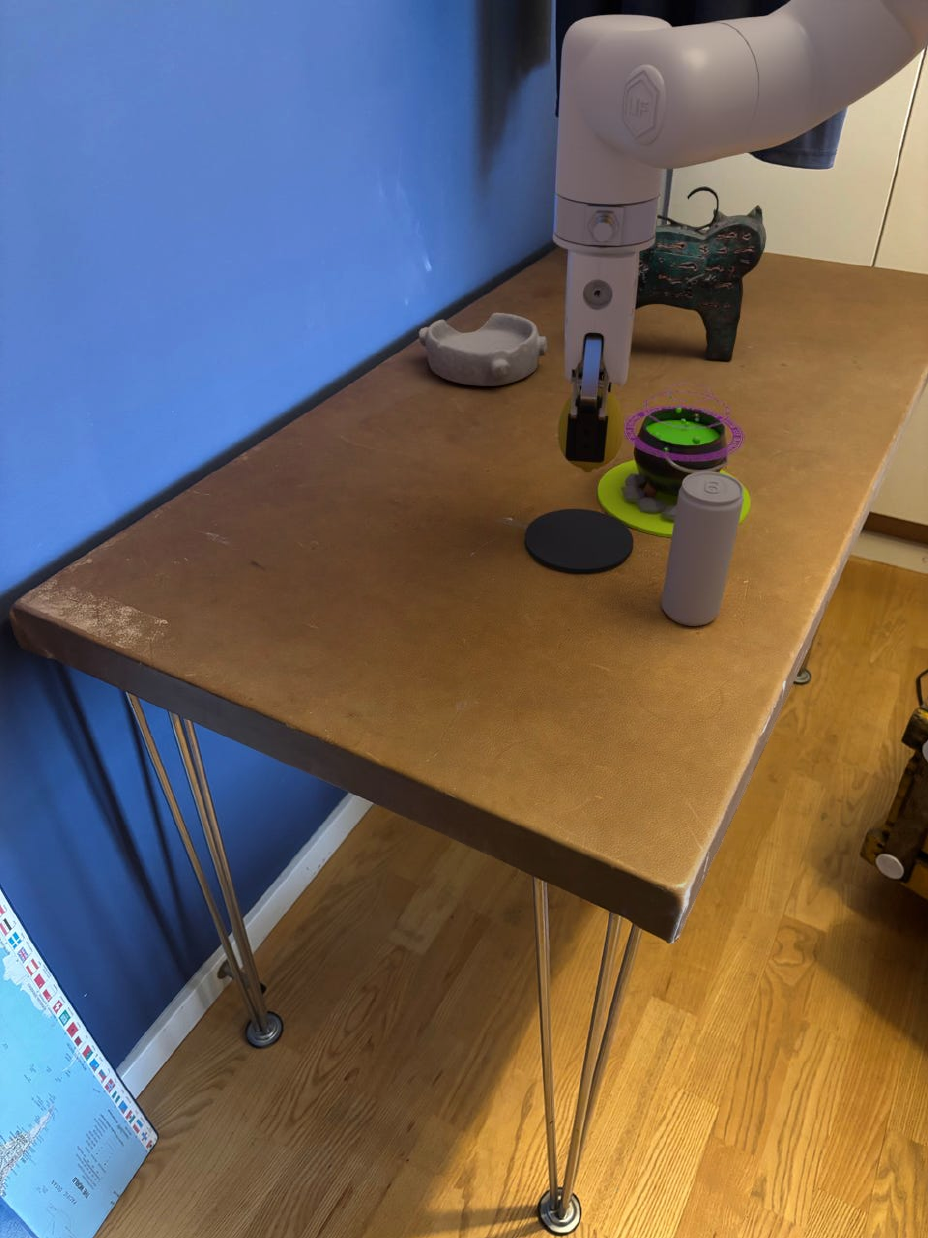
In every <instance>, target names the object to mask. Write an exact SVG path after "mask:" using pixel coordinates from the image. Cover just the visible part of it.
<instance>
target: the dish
mask: <svg viewBox="0 0 928 1238" xmlns="http://www.w3.org/2000/svg"><path fill="white" fill-rule="evenodd" d="M418 337H419V338H418V339H419V342H420V345H421V346H423V347H425V350H426V356H427V361H428V364H429V367H430V369H431V371H432V372H433V373H434V374H435V375H437V376H439V378H442V379H444V380H447V381H449V382H453V383H456V384H462V385H468V386H478V387H479V386H481V387H494V386H503V385H508V384H512V383H515V382H518V381H520V380H523V379H525V378H526V377H528V376H530V375H531V374H532V373H534V372H535V371H536V370H537V368H538V366H539V363H540V357H541V356H542V357H543V356H545V355H546V354H547V350H548V340H547V336H545V335H542V336H540V333H539V330H538V327H537V325H536V324H535V323H534V322H532V321H531V320H529V319H527V318H526V317H522V316H519V315H516V314H511V313H504V312H493V313H492V314H491V315H490V317H489V318H488V319H487V321H486V322H485V323H484V324H483V325H482V326H481V327H480V328H478V329H476V330H474V331H469V332H461V331H460V332H459V331H458V330H456V329H454V328H453V327H451V325H449V324H448V323H447V321H446V320H445V319H439V320H436V321H434V322H432V323H431V324H430V325H429V326H425V327H422V328H420V330H419V331H418Z"/></svg>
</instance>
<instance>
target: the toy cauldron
mask: <svg viewBox="0 0 928 1238" xmlns="http://www.w3.org/2000/svg"><path fill="white" fill-rule="evenodd" d="M675 384H676V385H674V383H672V384H671V386H670V385H668V386H667V387H666V388H665V389H664V392H661V393H660V392H659V393H655V394H653V395H651V396H650V397H648V398H647V399H646V400H645V401H644V403H643V409H640V410H637V411H635V412H633V413H631V414H630V415H628V416H627V417H625V419H624V435H623V438H624V439H626V441H627V442H629V443H630V444H631V445H632V446H633V448H634V449H633V456H634V459H632V460H629V461H626V462H623V463H620V464H618V465H616V466H614V467H612V468H611V469H609V470H608V471H606V473H604V474H603V476H602V477H601V479H600V480H599V482H598V486H597V490H596V493H597V500H598V502H599V504H600V506H601V508H602V509H603V510H604V511H605V513H606V514H607V515H610V516H612V517H614V518H616V519H618V520H619V521H621V522H622V523H623V524H624V525H626V527H628V528H631V529H634V530H636V531H640V532H642V533H646V534H650V535H654V536H658V537H666V538H672V532H673V525H674V519H675V513H676V506H677V500H678V494H679V490H680V488H681V486H682V482H683V480H684V478H685V477H687V476H688V475H690V474H692V473H696V472H703V471H711V472H719V473H724V474H726V475H729V476H732V477H733V478H735V479H737V478H736V477H735V476H733V475H732V474H730V473H728V472H727V471H725V470H723V468H724V467H726V466H728V465H729V456H730V455H731V454H734V453H737V452H738V451H739V449H741V447H743V445H744V443H745V440H746V434H745V431H744V429H743V428H742V427H741V426H740V425H739V424H738V422H736V421H734V420H733V419H731V418H730V415H731V412H729V411H730V408H729V407H728V405H727V404H726V402H725V403H724V402H723V401H722V400H720V399H719V398H717V397H715V396H714V394H713V391H712V390H711V389H710V388H709V387H707V386H705V385H703V389H704V390H705V391H706V392H707V394H705V393H703V392H698V391H693V390H692V391H690V390H685V391H684V393H687V394H689V393H691V394H698V395H702V396H706V397H705V399H706V400H710V399H713V400H715V401H716V402H718V403H720V402H721V403H722V404H723V405H722V406H723V407H724V409H725V411H726V413H725V415H724V414H722V413H718V412H716V411H713V410H710V409H707V408H704V407H698V406H691V405H690V406H689V405H683V404H680V405H679V404H678V405H674V404H673V406H672V404H669V405H668V404H667V405H665V404H664V405H660V406H659V407H658V405H656V406H651V407H648V402H650V401H651V400H652V399H653V398H655V397H658V396H661V395H666V396H667V397H668V398H670V399H674V400H675V401H677V402H681V403H688V400H684V399H677V398H676V397H675V396H673V394H672V391H671V389H672V388H674V387H677V386H678V383H675ZM681 385H682V386H683V385H687V386H689V385H690V386H691V385H692V386H695V387H697V384H696V383H695V382H690V383H686V382H681V383H680V386H681ZM698 388H701V385H699V386H698ZM675 393H682V390H675ZM710 393H711V394H710ZM706 400H703V403H704V402H706ZM695 403H697V404H698V403H702V400H701V399H698V400H695ZM643 417H644V419H643V421H642V423H641V426H640V428H639V431H638V434H637V433H636V432H635V431H636V427H635V426H636V424H637V423H638V422H639V420H641V419H642V418H643ZM726 427H728V429H729V431H731V435H732V437H731V440H730V441H729V443H728V440H727V437H726ZM739 482H740V483H741V484H742V486H743V490H744V492H743V498H744V501H743V506H742V510H741V515H740V520H739V524H738V526H739V525H740V524H742V523H743V522H744V521H745V519H747V517H748V516H749V513H750V511H751V496H750V493H749V491H748V489H747V488H746V487H745V485H744V484H743V483H742V482H741V481H739Z"/></svg>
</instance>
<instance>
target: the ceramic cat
mask: <svg viewBox="0 0 928 1238" xmlns="http://www.w3.org/2000/svg"><path fill="white" fill-rule="evenodd" d="M699 192H709V193H710V194H712V195H713V196H714V198H715V200H716V208H714V209H713V212H712V213H713V217H712V220H711V221H710V222H709V223H707V224H703V225H700V226H692V225H690V224H687V223H682V222H680V221H676V220H674V219H672V218H670V217H668V216H664V215H662V214H658V218H657V220H658V219H659V220H664V221H666V222H668V223H667V224H666V223H665V224H660V225H657V227H656V235H655V243H654V244H653V245H652V246H650V247H649V248H647V249H645V250H642V251H639V273H638V286H637V296H636V306H635V311H636V310H638V309H641V308H643V307H646V306H650V305H651V306H652V305H663V306H668V307H672V308H676V309H677V308H678V309H683V310H688V311H694V312H696V313H697V314H698V315H699V317H700V319H701V322H702V324H703V326H704V330H705V341H706V348H705V360H706V361H707V360H708V361H715V360H716V361H717V360H719V361H726V362H730V361H732V357H733V353H734V348H735V344H736V340H737V335H738V334H737V333H738V327H739V323H740V319H741V314H742V313H741V312H742V305H743V304H742V303H743V296H744V282H743V278H744V277H745V276H746V275H748V274H749V273H751V272H752V270H754V269H755V268H756V267H757V266H758V264H759V263H760V260H761V258H762V255H763V254H764V251H765V248H766V242H767V232H766V227H765V226H764V223H763V221H764V217H763V209H762V208H761V207H760V205H756V206H755V207H754V208H753V209H752V210H751V211H750V212H749V213H748V214H735V215H726V214H725V213H723V212H722V211H721V210H719V207H720V199H719V196H718V194H717V192H716V191H715V190H714V189H713V188H711V187H709V186H698V187H696V188H694V189H693V190H692V191H690V192H689V193H688V195H687V196H686V198H687V200H690V198H691V197H692V196H693V195H695V194H697V193H699ZM706 228H707V229H706Z"/></svg>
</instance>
